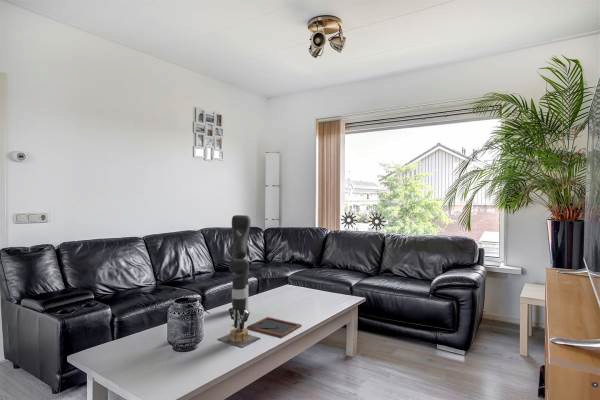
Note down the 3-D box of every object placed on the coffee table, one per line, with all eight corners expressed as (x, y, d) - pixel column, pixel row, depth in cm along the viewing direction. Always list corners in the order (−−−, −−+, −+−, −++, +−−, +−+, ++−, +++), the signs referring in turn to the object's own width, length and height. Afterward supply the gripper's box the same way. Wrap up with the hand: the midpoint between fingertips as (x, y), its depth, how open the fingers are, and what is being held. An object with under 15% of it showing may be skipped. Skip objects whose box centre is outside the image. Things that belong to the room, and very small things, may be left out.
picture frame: (246, 329, 201) (282, 338, 188) (246, 326, 201) (282, 335, 188) (267, 319, 218) (301, 327, 205) (267, 316, 218) (301, 324, 205)
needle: (235, 338, 185) (236, 316, 185) (238, 337, 187) (239, 314, 187) (238, 339, 184) (239, 317, 184) (242, 338, 186) (242, 315, 186)
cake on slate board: (217, 339, 185) (217, 331, 185) (236, 331, 196) (236, 323, 196) (242, 347, 175) (242, 339, 175) (260, 338, 186) (260, 330, 186)
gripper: (224, 296, 186) (224, 328, 186) (243, 300, 178) (243, 333, 179) (234, 292, 193) (234, 323, 193) (253, 297, 185) (253, 329, 185)
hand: (239, 328), depth 186 cm, fingers open, 3 cm apart
